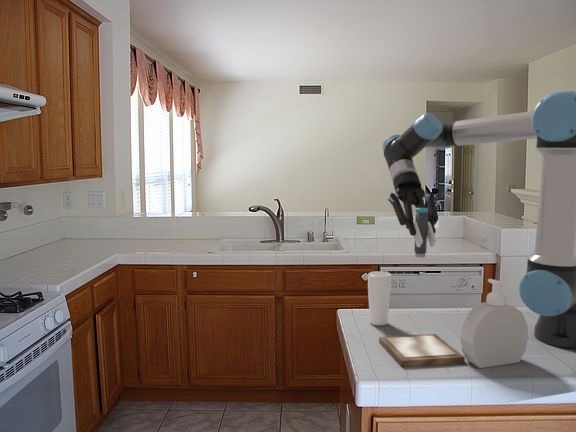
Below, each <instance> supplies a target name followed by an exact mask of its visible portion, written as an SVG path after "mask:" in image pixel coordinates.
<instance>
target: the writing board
mask: <svg viewBox="0 0 576 432" xmlns="http://www.w3.org/2000/svg"><path fill="white" fill-rule="evenodd" d="M378 344H380V346H382V348H383V349H384V350H385V351H386V352H387V353H388V355H390V356H391V357H392V359H394V361H395V362H396V363H397V364H398V365H399V366H400V367H401V368H407V367H421V366H422V367H423V366H436V365H437V366H439V365H452V364H453V365H454V364H455V365H456V364H465V360H466V358H465V356H464V354H462V353H460V351H458V350H457V349H455V348H454V347H453V346H452V345H450V344H449V343H448V342H447V341H445V340H444V339H443V338H441V337H440V336H439V335H438V334H436V333H431V334H430V333H429V334H411V335H391V336H379V337H378Z"/></svg>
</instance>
